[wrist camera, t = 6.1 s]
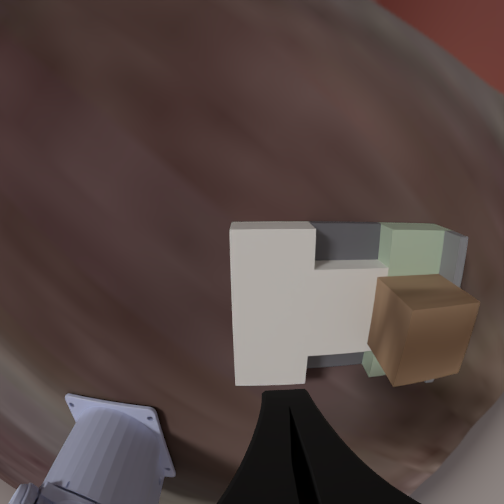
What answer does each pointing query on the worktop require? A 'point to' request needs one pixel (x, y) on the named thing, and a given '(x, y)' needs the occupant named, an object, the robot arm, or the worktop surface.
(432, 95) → the worktop surface
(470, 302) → the walnut block
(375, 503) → the robot arm
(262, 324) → the board
